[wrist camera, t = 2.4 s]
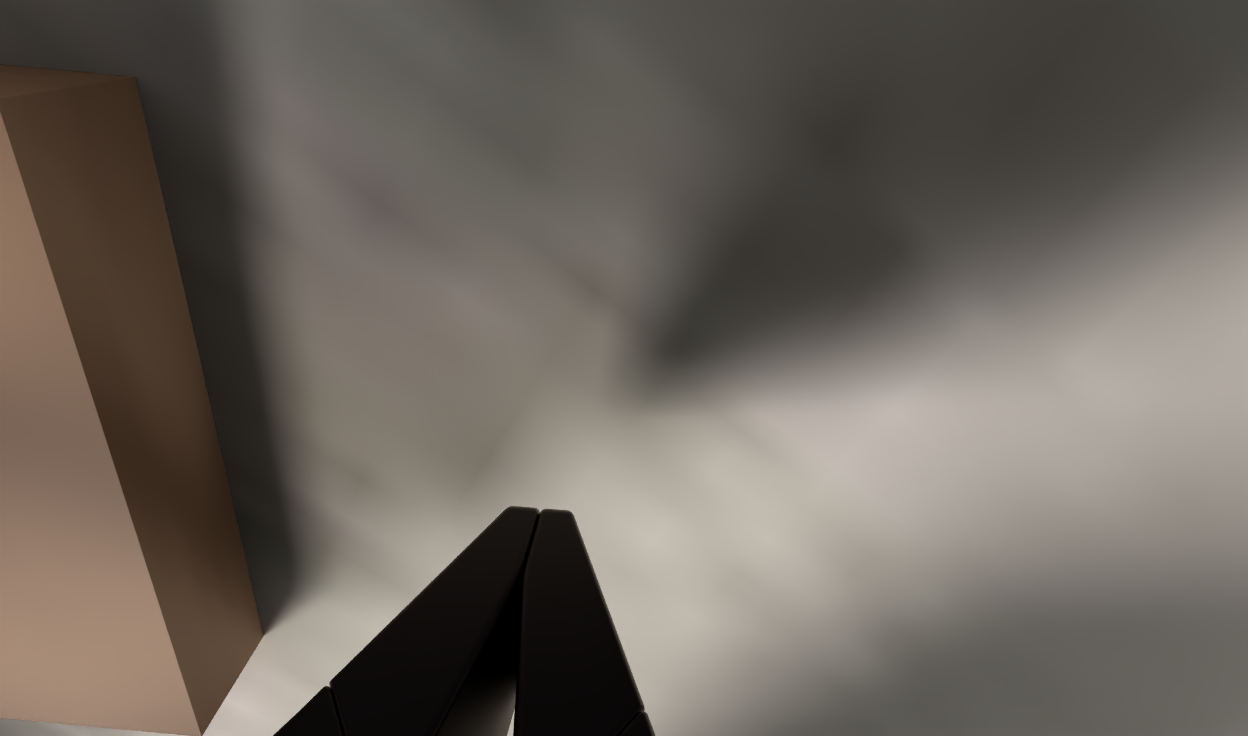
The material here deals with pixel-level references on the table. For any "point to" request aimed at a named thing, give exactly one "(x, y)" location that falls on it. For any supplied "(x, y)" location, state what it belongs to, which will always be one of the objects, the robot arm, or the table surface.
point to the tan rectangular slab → (105, 431)
